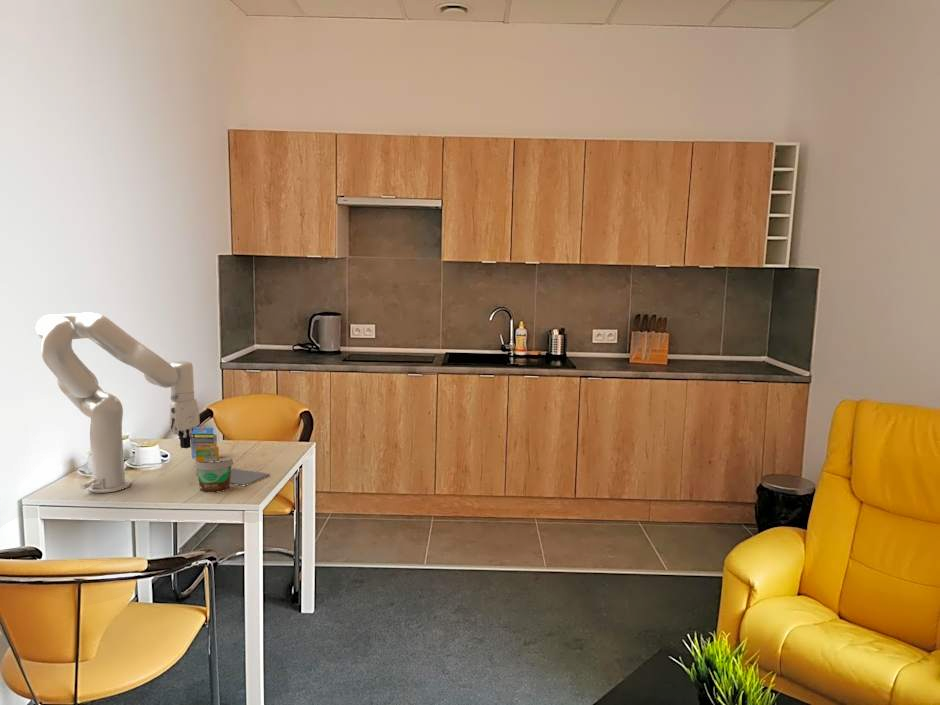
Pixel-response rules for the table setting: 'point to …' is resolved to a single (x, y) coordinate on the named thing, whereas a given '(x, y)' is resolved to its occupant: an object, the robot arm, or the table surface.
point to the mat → (245, 476)
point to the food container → (214, 475)
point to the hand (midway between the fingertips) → (185, 447)
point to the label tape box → (202, 438)
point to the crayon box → (206, 453)
